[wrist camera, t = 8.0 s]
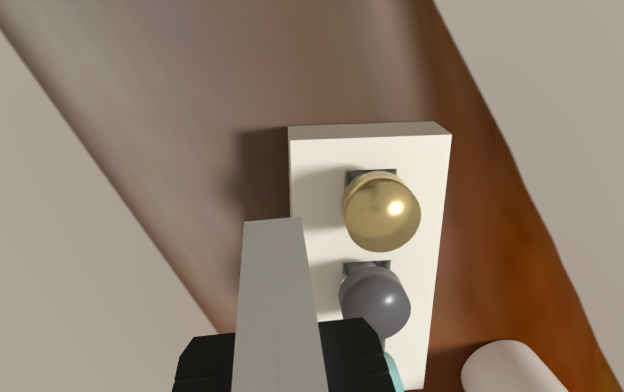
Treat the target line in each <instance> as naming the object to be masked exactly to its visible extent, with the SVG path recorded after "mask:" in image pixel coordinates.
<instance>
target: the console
mask: <svg viewBox="0 0 624 392" xmlns="http://www.w3.org/2000/svg"><path fill="white" fill-rule="evenodd" d="M451 138H452V134H451V133H449V132H448V131H446V130H445V129H444V128H442V127H441V126H440V125H438V124H437V123H435V122H434V121H428V122H398V123H369V124H339V125H309V126H288V155H289V187H290V217H300V216H301V219H302V226H303V232H304V238H305V245H306V251H307V257H308V264H309V270H310V276H311V283H312V289H313V295H314V302H315V308H316V315H317V321H318V322H322V321H332V320H341V319H343V316H342V312H341V308H340V304H339V300H338V293H339V289H340V286H341V284H342V282H343V281H344V280H345V278H346V277H347V275H346V272H345V263H348V262H365V261H376V264H377V266H379V267H384V268H387V269H389V270H391V271H392V272H393V273H395V274H396V275H397V277H398V278H399V280H400V282H401V284H402V286H403V288H404V290H405V292H406V294H407V296H408V299H409V301H410V304H411V314H410V317H409V320H408V322H407V323H406V325H405V326H404V327H403V328H402V329H401V330H400V331H399V332H398V333H396V334H395V335H393V336H391V337H389V338H386V339H383V340H380V343H381V346H382V349H383V351H385V352H387V353H388V354H389V355H390V356H391V357H392V358H393V359H394V361H395V364H396V367H397V369H398V372H399V375H400V378H401V380H402V383H403V386H404V390H413V389H423V386H424V377H425V368H426V359H427V350H428V341H429V333H430V324H431V315H432V306H433V297H434V288H435V280H436V271H437V262H438V253H439V244H440V235H441V227H442V218H443V209H444V200H445V191H446V182H447V174H448V165H449V156H450V147H451ZM373 169H375V170H376V171H385V172H389V173H392V174H394V175H396V176H398V177H399V178H400V179H402V180H403V182H404V183H405V184H406V185H407V187H408V188H409V189H410V191H411V192H412V193H413V194H414V196H415V197H416V199H417V200H418V202H419V205H420V208H421V221H420V224H419V227H418V229H417V231H416V233H415V235H414V236H413V237H412V238H411V239H410V240H409V241H408V242H407V243H406V244H405V245H403V246H401V247H400V248H398V249H395V250H393V251H389V252H382V253H377V252H371V251H367V250H364V249H362V248H361V247H359V246H358V245H356V244H355V243H354V242H353V240H352V239H351V238H350V236H349V234H348V231H347V228H346V225H345V223H344V220H343V217H342V214H341V199H342V196H343V193H344V191H345V190H346V188H347V181H348V178H349V176H350V174H351V173H352V172H353V171H354V170H373Z"/></svg>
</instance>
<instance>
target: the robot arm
mask: <svg viewBox="0 0 624 392" xmlns="http://www.w3.org/2000/svg"><path fill="white" fill-rule="evenodd" d="M172 392H396V390H395V387H394V384H393V381H392V377H391V375H390V373H389V368H388V365H387V362H386V359H385V358H384V352H383V349H382V346H381V343H380V340H379V337H378V334H377V332H376V331H375V330H374V329H373V328H372V327H371V326H370V325H369V324H368V323H367V322H366V321H365V320H364V319H363V317H359V318H350V319H341V320H332V321H322V322H318V321H317V315H316V308H315V302H314V295H313V289H312V283H311V276H310V270H309V264H308V257H307V251H306V245H305V238H304V232H303V226H302V219H301V216H300V217H289V218H278V219H268V220H257V221H247V222H244V231H243V244H242V257H241V270H240V283H239V296H238V309H237V323H236V333H227V334H217V335H208V336H199V337H194V338H193V339H192V340H191V342H190V343H189V344H188V346H187V347H186V349H185V350H184V351H183V353H182V354H181V356H180V357H179V362H178V366H177V371H176V376H175V383H174V385H173V389H172Z"/></svg>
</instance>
